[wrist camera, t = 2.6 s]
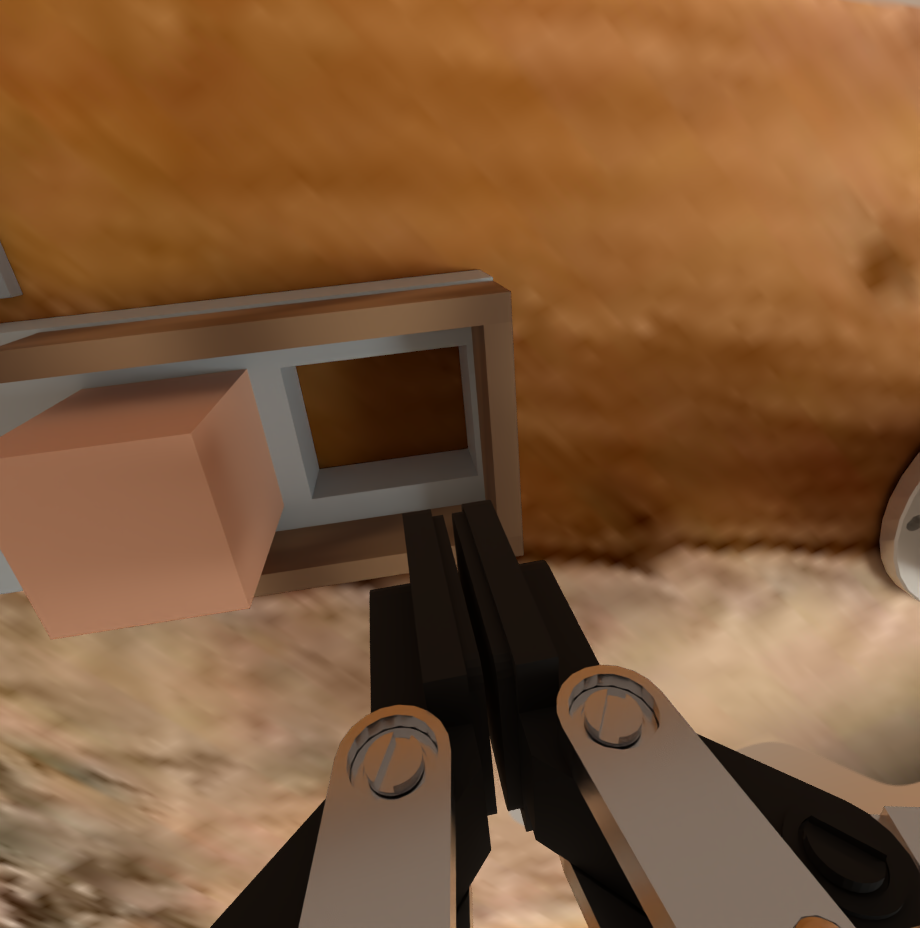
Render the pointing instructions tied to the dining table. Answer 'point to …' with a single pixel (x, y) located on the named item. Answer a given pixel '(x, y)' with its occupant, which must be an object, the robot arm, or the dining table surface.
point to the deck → (289, 408)
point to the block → (139, 503)
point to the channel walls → (308, 324)
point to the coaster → (7, 278)
